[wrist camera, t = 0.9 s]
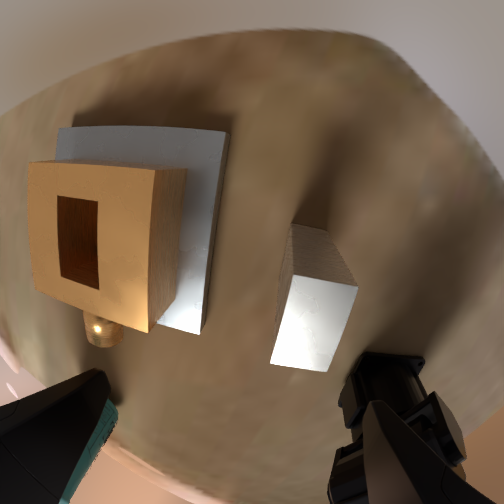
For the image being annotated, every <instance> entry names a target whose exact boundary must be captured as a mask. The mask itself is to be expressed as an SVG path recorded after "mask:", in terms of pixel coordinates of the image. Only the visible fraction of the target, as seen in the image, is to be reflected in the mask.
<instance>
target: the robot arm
mask: <svg viewBox="0 0 504 504" xmlns="http://www.w3.org/2000/svg"><path fill="white" fill-rule="evenodd" d="M367 357H369V358H368V359H365V358H367ZM419 362H420V363H419ZM424 364H425V360H424V358H423V357H417V356H403V355H392V354H381V353H371V352H366V353H363V354H362V355H361V357H360V359H359V361H358V363H357V365H356V367H355V369H354V371H353V373H352V374H350V376H349V378H348V380H347V382H346V384H345V385H344V387H343V389H342V391H341V393H340V396H341V397H340V399H339V400H338V406H339V407H341V408H342V409H343V415H344V422H345V427H346V428H347V429H351V433H352V440H353V443H351V444H349V445H347V446H345V447H341V448H339V449H337V450H336V454H335V459H334V463H333V467H332V471H331V475H330V479H329V483H328V491H327V495H328V498H329V501H330V504H496V503H495V502H493V501H492V500H490V499H489V498H487V497H486V496H484V495H483V494H481V493H480V492H479V491H477V490H476V489H475V488H473V487H472V486H471V485H469V484H468V483H467V482H466V474H465V472H464V469H463V467H462V464H461V462H463V461H465V460H466V459H467V455H466V451H465V445H464V440H463V435H462V431H461V429H460V427H459V425H458V423H457V421H456V419H455V417H454V416H453V414H452V412H451V411H450V409H449V408H448V407H447V406H446V404H445V403H444V402H443V401H442V399H441V398H440V397H439V396H438V395H437V393H436V392H435V391H433V392H432V393H431V394H429V395H427V393H426V391H425V389H424V387H423V385H422V383H421V381H420V379H419V376H418V375H419V373H420V371H421V370H422V368H423V366H424ZM110 392H111V386H110V384H109V381H108V379H107V376H106V373H105V372H104V371H103V370H100V369H97V368H93V369H91V370H88V371H86V372H84V373H82V374H79V375H77V376H75V377H72V378H70V379H68V380H65V381H63V382H61V383H58V384H56V385H54V386H51V387H49V388H46V389H44V390H42V391H39V392H37V393H35V394H32V395H29V396H27V397H25V398H22V399H20V400H17V401H14V402H12V403H9V404H6V405H3V406H0V504H59V502H60V499H61V497H62V495H63V493H64V491H65V489H66V486H67V484H68V482H69V480H70V478H71V476H72V474H73V472H74V470H75V467H76V465H77V463H78V461H79V459H80V457H81V455H82V453H83V451H84V449H85V447H86V445H87V443H88V442H89V440H90V438H91V436H92V434H93V432H94V430H95V428H96V426H97V424H98V422H99V419H100V417H101V414H102V412H103V409H104V407H105V404H106V402H107V399H108V397H109V395H110Z"/></svg>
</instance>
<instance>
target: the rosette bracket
mask: <svg viewBox="0 0 504 504" xmlns="http://www.w3.org/2000/svg"><path fill="white" fill-rule="evenodd" d="M230 136H231V135H230V134H228V133H227V132H221V131H212V130H202V129H191V128H177V127H158V126H86V127H69V128H59V131H58V139H57V147H56V157H55V160H50V161H39V162H29V168H28V230H29V244H30V254H31V263H32V271H33V278H34V284H35V289H36V290H38V291H40V292H42V293H44V294H47V295H49V296H51V297H53V298H56V299H58V300H60V301H62V302H65V303H67V304H70V305H72V306H74V307H77V308H79V309H82V310H83V317H84V324H85V330H86V335H87V339H88V341H89V342H90V343H91V344H93V345H95V346H98V347H112V346H115V345H117V344H118V343H120V342H121V340H122V339H123V325H125V326H128V327H131V328H134V329H137V330H140V331H143V332H146V333H149V332H150V330H151V329H152V328H153V326H154V325H155V324H156V323H159V324H162V325H165V326H169V327H173V328H176V329H180V330H183V331H187V332H191V333H195V334H199V335H200V333H201V331H202V329H203V327H204V325H205V318H206V308H207V299H208V290H209V282H210V273H211V265H212V257H213V249H214V241H215V234H216V227H217V219H218V212H219V205H220V199H221V192H222V185H223V179H224V172H225V166H226V160H227V154H228V148H229V142H230Z"/></svg>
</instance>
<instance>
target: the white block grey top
mask: <svg viewBox="0 0 504 504" xmlns="http://www.w3.org/2000/svg"><path fill="white" fill-rule="evenodd" d="M358 288H359V287H358V285H357V283H356V281H355V279H354V277H353V276H352V274H351V272H350V270H349V268H348V267H347V265H346V263H345V261H344V259H343V258H342V256H341V254H340V252H339V251H338V249H337V247H336V245H335V244H334V242H333V240H332V239H331V237H330V235H329V234H328V232H327V230H323V229H318V228H313V227H308V226H303V225H299V224H294V223H291V225H290V230H289V235H288V240H287V244H286V249H285V254H284V259H283V263H282V268H281V272H280V277H279V285H278V296H277V306H276V316H275V326H274V336H273V345H272V355H271V363H272V364H278V365H283V366H289V367H296V368H302V369H309V370H316V371H324V372H327V370H328V368H329V365H330V363H331V360H332V358H333V356H334V353H335V351H336V348H337V346H338V343H339V341H340V338H341V336H342V333H343V330H344V328H345V325H346V322H347V320H348V317H349V314H350V311H351V309H352V306H353V303H354V300H355V297H356V294H357V291H358Z"/></svg>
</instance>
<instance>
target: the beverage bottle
mask: <svg viewBox="0 0 504 504" xmlns="http://www.w3.org/2000/svg"><path fill="white" fill-rule="evenodd" d="M117 420H118V411H117V409H116V407H115V406H114V404H113V403H112V402H111V401H110V400H109V399H107V402H106V404H105V407H104V409H103V412H102V414H101V417H100V419H99V422H98V424H97V426H96V428H95V430H94V432H93V434H92V436H91V438H90V440H89V442H88V443H87V445H86V447H85V449H84V451H83V453H82V455H81V457H80V459H79V461H78V463H77V465H76V467H75V470H74V472H73V474H72V476H71V478H70V480H69V482H68V484H67V486H66V489H65V491H64V493H63V495H62V497H61V499H60V502H59V504H69V503H70V499H71V498H72V496H73V494H74V492H75V491H76V489H77V487H78V485H79V484H80V482H81V480H82V478H83V477H84V475H85V474H86V472H87V471H88V469H89V467H90V466H91V464H92V462H93V460H94V459H95V457H96V455H97V454H98V452H99V450H100V448H101V447H103V446H104V445H103V443H104V444H105V443H106V442H105V441H107V440H106V439H108V438H109V437H108V436H110V435H109V434H111V432H112V431H113V430H112V429H113V428H114V427H115V423H116V424H117V423H118V422H117ZM102 445H103V446H102Z"/></svg>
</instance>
